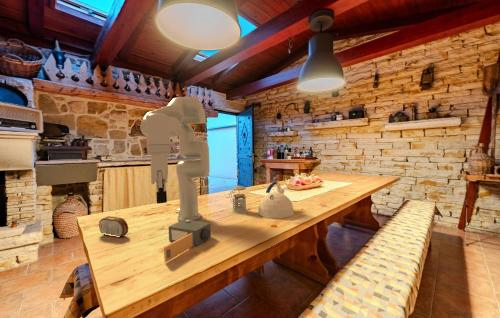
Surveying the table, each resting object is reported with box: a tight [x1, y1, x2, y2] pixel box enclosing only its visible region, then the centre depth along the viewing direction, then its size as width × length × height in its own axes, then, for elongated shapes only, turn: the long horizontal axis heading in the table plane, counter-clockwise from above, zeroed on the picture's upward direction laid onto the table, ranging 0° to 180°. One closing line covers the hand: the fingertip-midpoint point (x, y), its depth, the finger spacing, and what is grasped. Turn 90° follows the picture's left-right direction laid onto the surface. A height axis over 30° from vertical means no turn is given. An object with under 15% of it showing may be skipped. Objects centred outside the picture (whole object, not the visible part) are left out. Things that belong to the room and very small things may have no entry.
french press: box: [228, 169, 249, 215], centre depth 125 cm, size 10×12×25 cm
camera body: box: [168, 219, 212, 247], centre depth 88 cm, size 15×10×7 cm, turn 66°
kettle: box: [257, 181, 295, 220], centre depth 120 cm, size 20×21×18 cm
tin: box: [98, 216, 129, 237], centre depth 94 cm, size 15×3×8 cm, turn 71°
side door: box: [163, 233, 194, 263], centre depth 75 cm, size 13×1×5 cm, turn 152°
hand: (162, 202), depth 74 cm, fingers closed
